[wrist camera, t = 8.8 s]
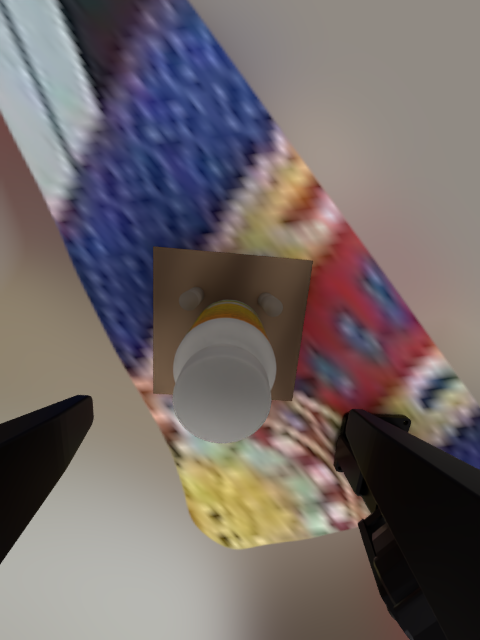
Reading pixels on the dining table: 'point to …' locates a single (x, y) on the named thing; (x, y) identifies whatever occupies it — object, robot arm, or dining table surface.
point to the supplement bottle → (224, 374)
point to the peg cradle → (228, 284)
